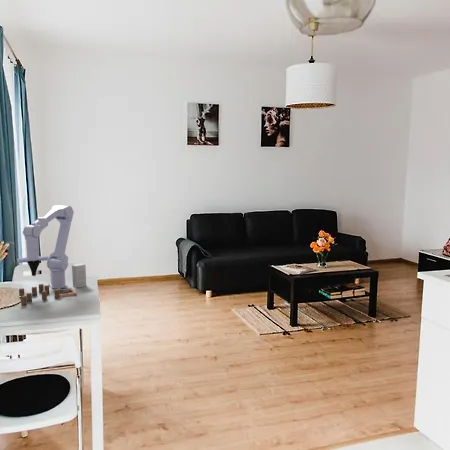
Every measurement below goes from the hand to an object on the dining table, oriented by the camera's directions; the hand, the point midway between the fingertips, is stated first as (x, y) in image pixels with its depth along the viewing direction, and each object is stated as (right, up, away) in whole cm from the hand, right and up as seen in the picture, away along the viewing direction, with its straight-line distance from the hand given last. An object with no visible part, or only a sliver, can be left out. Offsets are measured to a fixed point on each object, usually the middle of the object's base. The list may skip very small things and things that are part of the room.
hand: (33, 275), depth 239 cm
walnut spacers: (+2, -11, -2) cm, 11 cm away
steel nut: (+13, -10, +5) cm, 17 cm away
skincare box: (+17, -8, +20) cm, 27 cm away
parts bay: (+14, -10, +5) cm, 18 cm away
